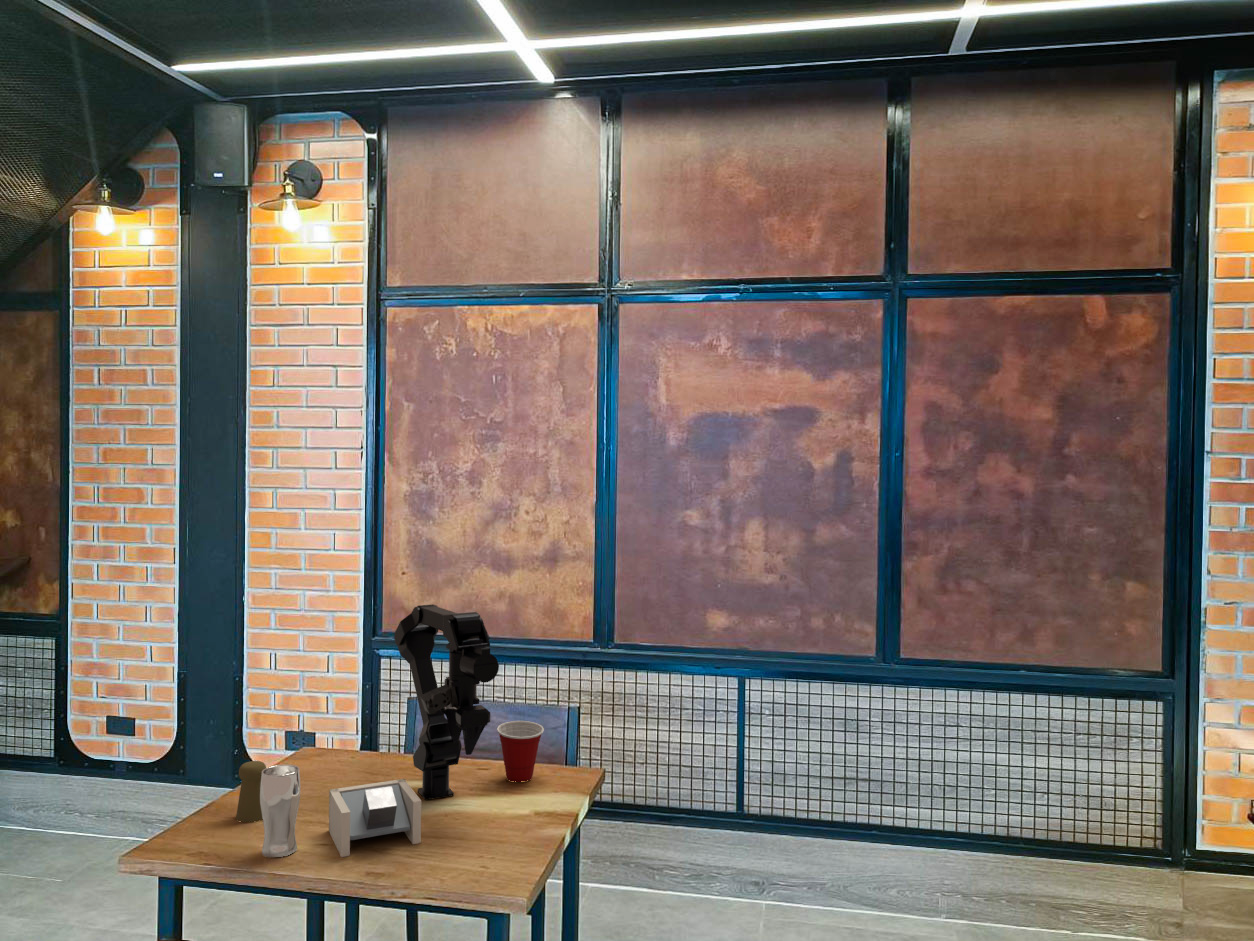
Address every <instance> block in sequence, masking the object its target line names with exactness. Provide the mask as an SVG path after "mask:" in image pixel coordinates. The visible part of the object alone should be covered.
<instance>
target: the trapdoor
mask: <svg viewBox="0 0 1254 941" xmlns="http://www.w3.org/2000/svg"><path fill="white" fill-rule="evenodd" d="M390 786H392V789H393V793H394V797H395V800H396V804H397V808H396V815H395V821H394V826H388V827H382V828H376V829H369V830H367V829H366V824H365V820H364V815H363V811H362V809H363V801H364V794H365V790H369V789H376V788H383V787H390ZM341 796H342V798H343V800H344V801H345V803H346V805H347V807H348V809H349V810H350V841H355V840H361V839H365V838H366V839H367V838H373V837H377V836H383V835H384V836H385V835H389V834H390V835H391V834H396V833H401V832H402V833H403V832H404V831H408V830H410V823H409V820H408V817H407V813H406V810H405V806H404V803H403V799H402V796H401V792H400V789H399V785H397V784H394V785H387V786H380V787H374V788H367V789H360V790H353V791H346V792H342V793H341Z"/></svg>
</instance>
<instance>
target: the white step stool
mask: <svg viewBox="0 0 1254 941" xmlns="http://www.w3.org/2000/svg"><path fill="white" fill-rule="evenodd" d="M394 784H397V785H399V789H400V792H401V796H402V799H403V803H404V806H405V810H406V813H407V817H408V820H409V823H410V830H408V831H403V833H405V835H406V836H407V838H408V839H409V841H410V842H411V844H412V845H417V844H421V842H422V841H421V839H422V831H421V830H422V800H421V798H420V797H419V796H418V795H417V793H416V792H415V791H414V790H413V788H412V787H411V786H410V785H409V783H408V782H407V780H405V779H404V778H401V779H394V780H387V781H382V782H374V783H373V782H372V783H366V784H361V785H360V784H359V785H351V786H345V787H339V788H333V789H332V788H331V789H329V791H328V793H329V794H328V832H329V834H330V837H331V839H332V840H333V843H334V845H335V847H336V850H337V851H339V852H338V854H339V853H340V854H339V856H340V857H341V858H343V857H344V858H345V857H349V856H350V854H351V850H350V848H351V840H350V810H349V809H348V807H347V805H346V803H345V801H344V800H343V798H342V796H341V793H342V792H346V791H353V790H360V789H367V788H374V787H380V786H387V785H394Z"/></svg>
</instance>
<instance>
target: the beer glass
mask: <svg viewBox="0 0 1254 941" xmlns="http://www.w3.org/2000/svg"><path fill="white" fill-rule="evenodd" d="M300 801H301V775H300V767H299V766H297V765H296V764H276V765H272V766H268V767H266V768H265V769H264V770H262V775H261V785H260V806H261V813H262V819H263V820H262V824H263V829H264V831H263V832H264V833H263V834H264V837H263V844H262V849H261V855H262V856H263V855H264V856H263V857H265V856H266V857H265V858H268V857H281V858H284V857H283V856H285V857H288V855H289V856H291V855H293V854H294V853H295V852H297V850H298V844H297V840H296V823H297V818H298V812H299V807H300ZM292 853H293V854H292ZM290 854H291V855H290Z"/></svg>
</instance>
